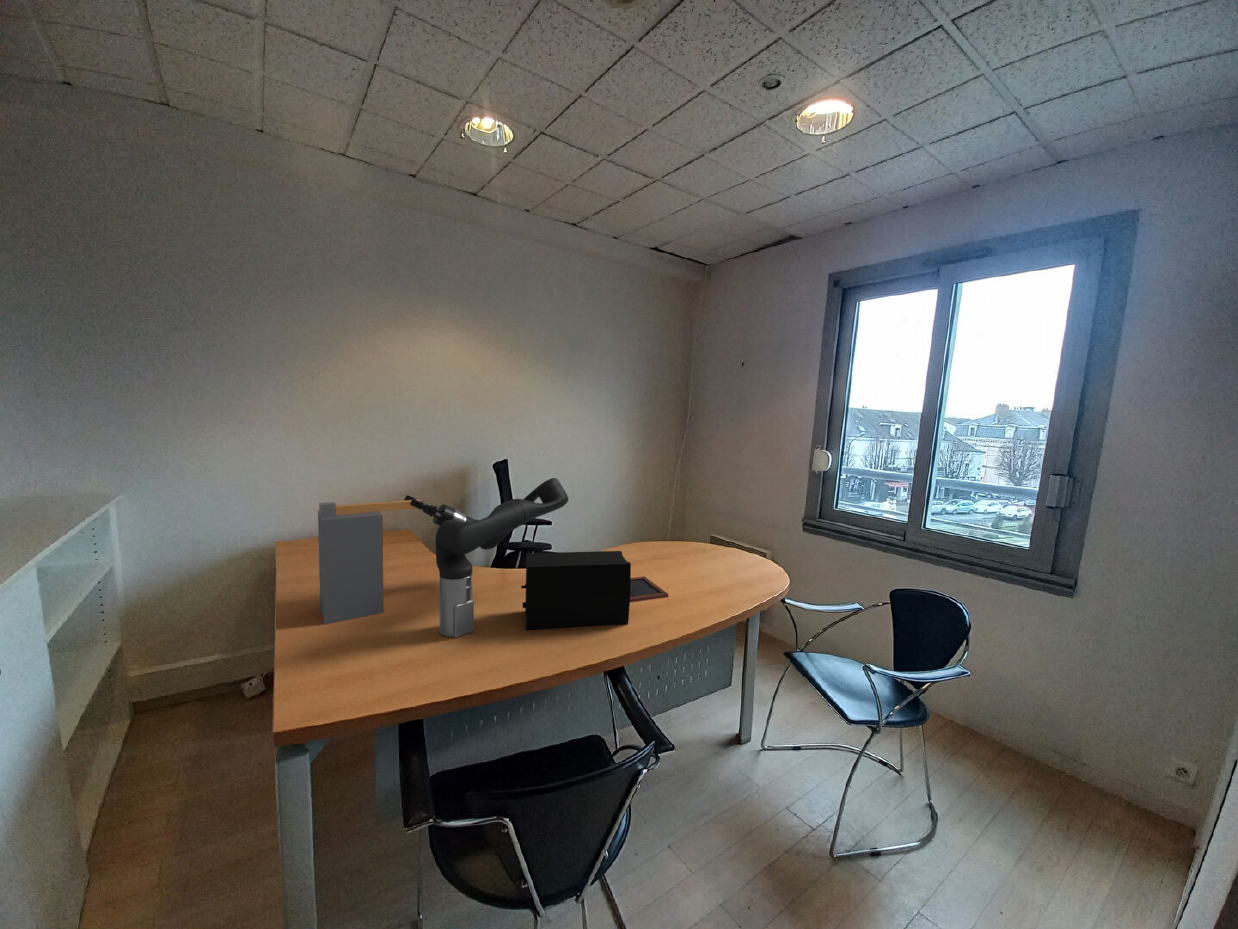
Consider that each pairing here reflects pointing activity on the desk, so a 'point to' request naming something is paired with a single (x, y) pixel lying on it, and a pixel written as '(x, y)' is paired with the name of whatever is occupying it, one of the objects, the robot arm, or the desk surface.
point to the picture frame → (645, 590)
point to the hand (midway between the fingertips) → (408, 499)
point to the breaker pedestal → (350, 565)
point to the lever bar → (362, 507)
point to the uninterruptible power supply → (576, 589)
